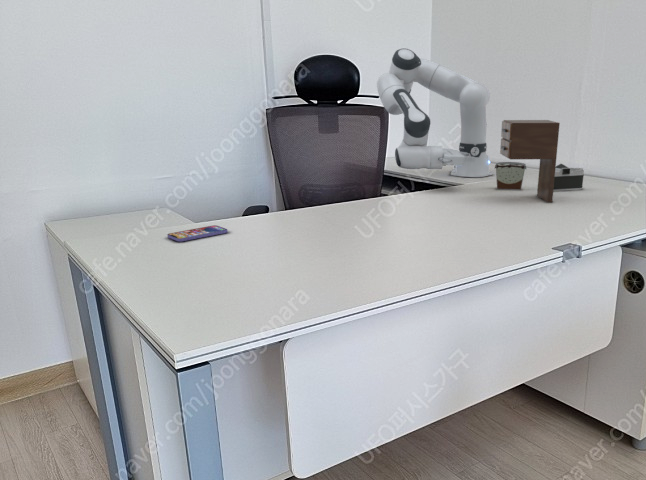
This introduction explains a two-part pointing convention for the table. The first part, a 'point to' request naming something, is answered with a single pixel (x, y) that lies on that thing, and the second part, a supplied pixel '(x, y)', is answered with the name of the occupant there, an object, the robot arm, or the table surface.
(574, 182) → the camera
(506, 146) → the drawer unit
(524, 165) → the food container
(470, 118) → the robot arm
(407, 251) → the table surface
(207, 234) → the smartphone
